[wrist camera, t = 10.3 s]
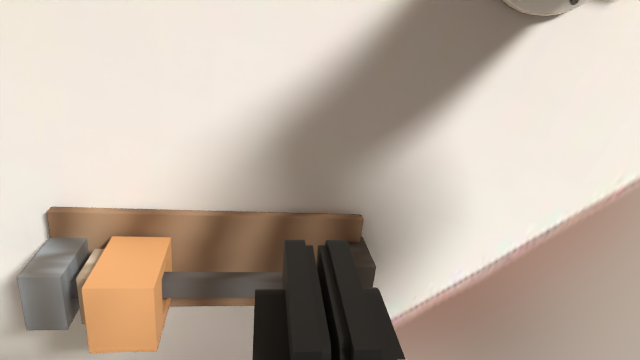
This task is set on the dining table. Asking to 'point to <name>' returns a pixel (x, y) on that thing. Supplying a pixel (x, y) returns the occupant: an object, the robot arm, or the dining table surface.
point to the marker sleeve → (127, 295)
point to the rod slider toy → (178, 255)
